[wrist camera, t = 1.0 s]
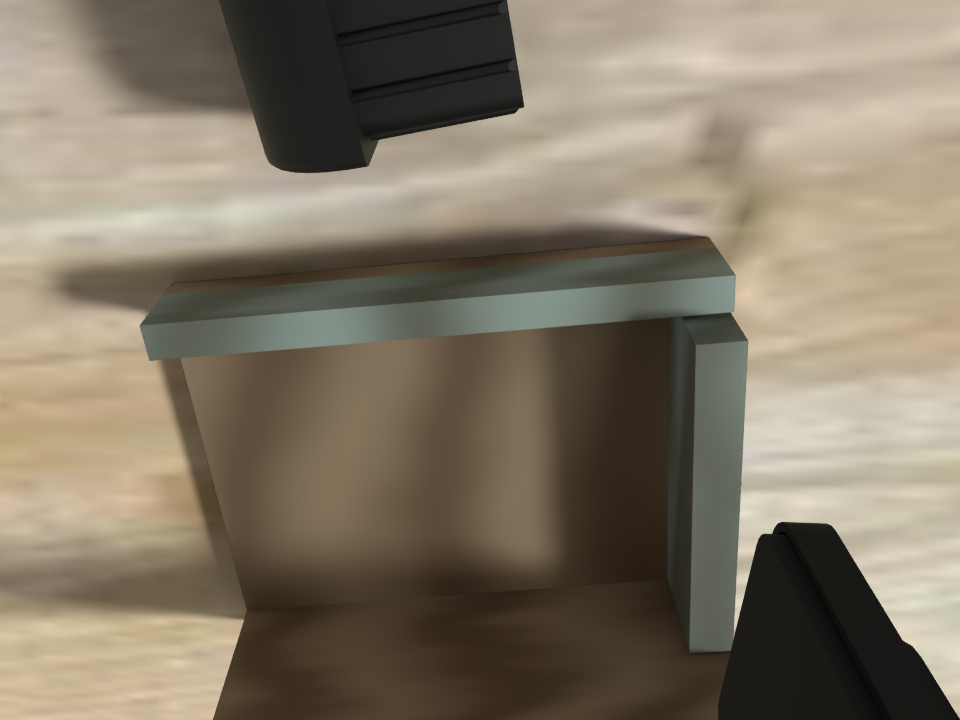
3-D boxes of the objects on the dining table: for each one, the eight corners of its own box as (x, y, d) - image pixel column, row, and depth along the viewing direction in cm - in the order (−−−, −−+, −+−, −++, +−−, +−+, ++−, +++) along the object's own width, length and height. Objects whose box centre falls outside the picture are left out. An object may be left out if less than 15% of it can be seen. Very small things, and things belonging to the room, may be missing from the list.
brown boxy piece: (709, 237, 30) (858, 449, 18) (699, 589, 37) (804, 905, 25) (172, 283, 31) (-9, 517, 19) (259, 621, 37) (165, 945, 26)
